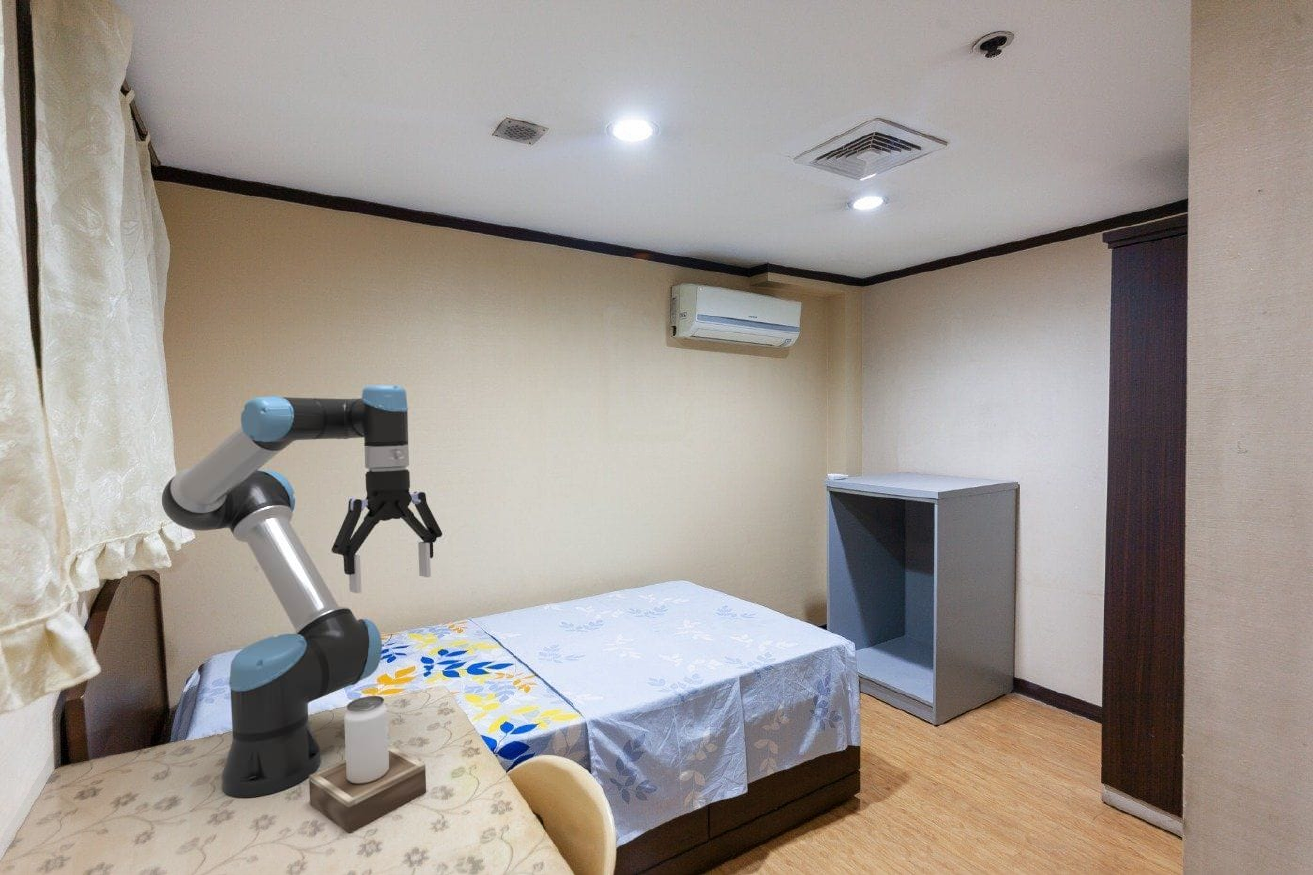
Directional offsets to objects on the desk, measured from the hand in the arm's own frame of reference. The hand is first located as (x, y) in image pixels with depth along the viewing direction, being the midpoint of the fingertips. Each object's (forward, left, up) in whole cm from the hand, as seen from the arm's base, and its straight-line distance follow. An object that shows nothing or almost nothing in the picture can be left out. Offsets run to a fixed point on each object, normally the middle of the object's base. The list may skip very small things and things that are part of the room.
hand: (391, 583), depth 117 cm
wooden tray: (+8, -10, -33) cm, 35 cm away
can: (+8, -10, -29) cm, 31 cm away
